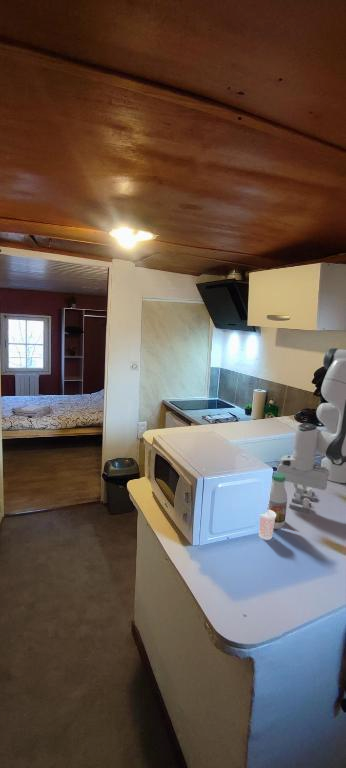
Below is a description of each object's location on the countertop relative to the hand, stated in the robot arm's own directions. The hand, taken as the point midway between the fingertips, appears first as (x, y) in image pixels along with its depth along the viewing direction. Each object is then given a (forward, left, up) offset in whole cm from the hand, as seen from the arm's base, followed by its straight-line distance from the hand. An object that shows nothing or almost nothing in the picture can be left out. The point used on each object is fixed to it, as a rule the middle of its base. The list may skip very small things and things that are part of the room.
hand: (299, 493), depth 153 cm
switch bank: (-5, +1, -7) cm, 8 cm away
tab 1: (-5, -1, -6) cm, 8 cm away
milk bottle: (+19, -6, -7) cm, 21 cm away
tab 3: (-11, +3, -6) cm, 13 cm away
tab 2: (+1, +3, -6) cm, 6 cm away
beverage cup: (+29, -7, -7) cm, 30 cm away
